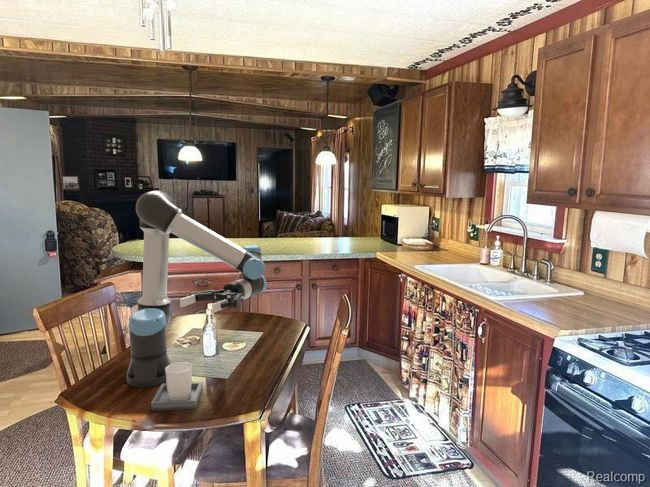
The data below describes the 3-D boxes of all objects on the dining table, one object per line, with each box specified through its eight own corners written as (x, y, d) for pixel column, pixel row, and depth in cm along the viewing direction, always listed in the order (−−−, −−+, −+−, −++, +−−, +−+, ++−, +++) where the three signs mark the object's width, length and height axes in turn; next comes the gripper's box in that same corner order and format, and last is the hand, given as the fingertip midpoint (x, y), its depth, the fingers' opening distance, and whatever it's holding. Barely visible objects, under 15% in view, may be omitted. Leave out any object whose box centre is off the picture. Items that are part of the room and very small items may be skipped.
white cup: (183, 389, 148) (182, 360, 146) (197, 396, 143) (196, 366, 141) (161, 398, 142) (160, 367, 140) (175, 406, 137) (174, 374, 135)
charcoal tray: (162, 390, 148) (161, 383, 148) (202, 389, 150) (202, 381, 149) (151, 410, 135) (150, 403, 135) (195, 408, 137) (195, 401, 136)
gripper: (265, 305, 161) (227, 322, 142) (210, 297, 172) (168, 311, 153) (264, 285, 160) (227, 299, 141) (209, 278, 171) (167, 290, 152)
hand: (196, 305), depth 147 cm, fingers open, 13 cm apart
